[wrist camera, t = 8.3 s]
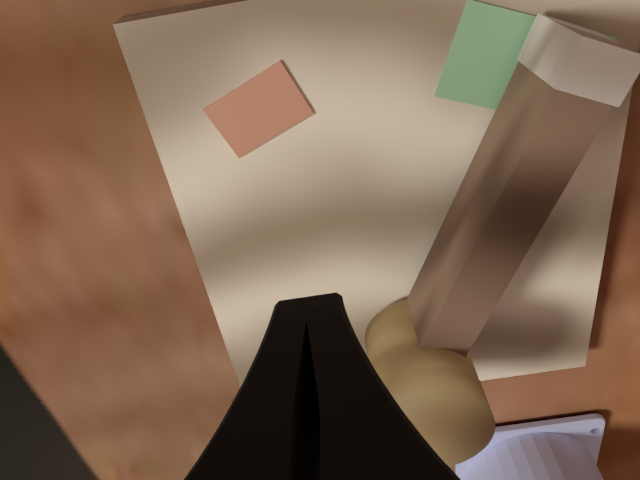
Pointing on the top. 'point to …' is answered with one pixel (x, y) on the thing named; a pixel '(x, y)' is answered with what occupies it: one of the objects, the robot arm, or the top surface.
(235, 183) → the board
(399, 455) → the robot arm
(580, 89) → the friction peg
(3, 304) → the top surface
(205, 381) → the top surface
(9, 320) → the top surface
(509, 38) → the green tile
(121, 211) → the top surface
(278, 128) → the thin salmon tile
